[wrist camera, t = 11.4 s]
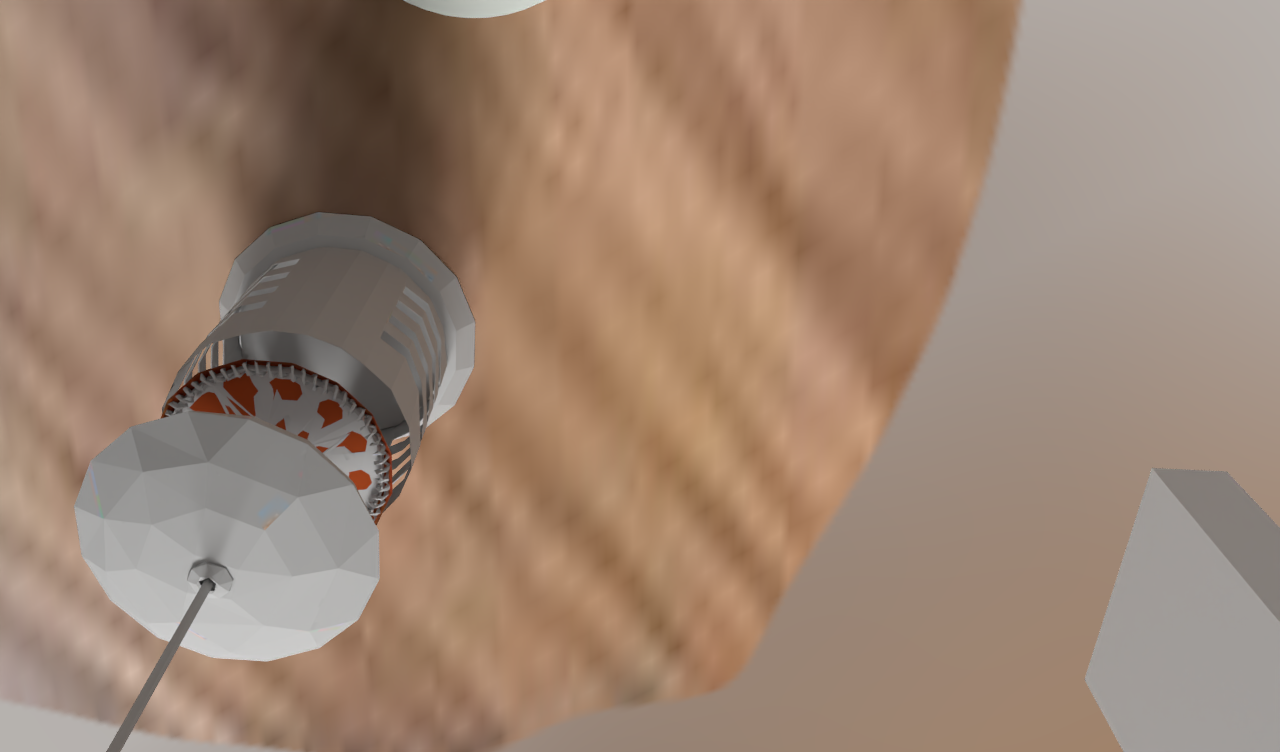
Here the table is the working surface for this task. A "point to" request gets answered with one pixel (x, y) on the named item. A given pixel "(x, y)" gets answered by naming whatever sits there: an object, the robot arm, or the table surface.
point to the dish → (474, 7)
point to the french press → (279, 446)
